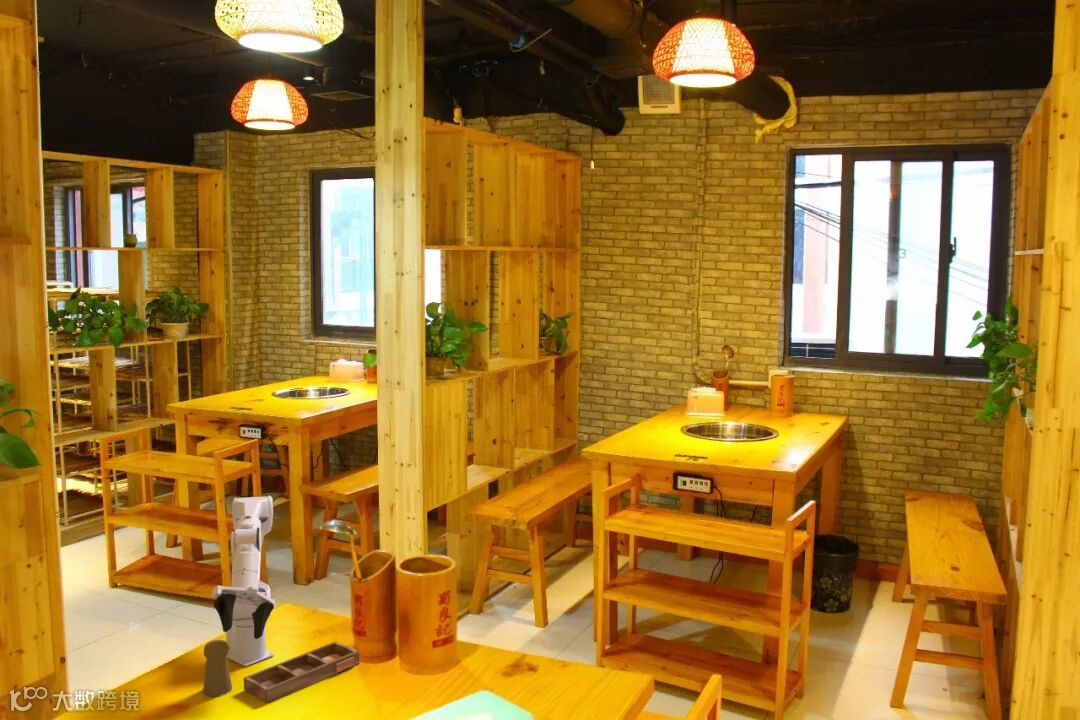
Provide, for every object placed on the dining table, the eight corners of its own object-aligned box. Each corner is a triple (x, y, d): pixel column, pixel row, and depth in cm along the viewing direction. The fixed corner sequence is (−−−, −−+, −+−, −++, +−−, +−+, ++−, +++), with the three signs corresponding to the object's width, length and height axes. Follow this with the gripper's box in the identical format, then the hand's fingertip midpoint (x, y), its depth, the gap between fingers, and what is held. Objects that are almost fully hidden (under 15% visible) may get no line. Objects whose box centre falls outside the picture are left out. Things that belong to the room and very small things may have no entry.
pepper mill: (222, 698, 194) (221, 649, 193) (197, 695, 196) (195, 646, 194) (237, 685, 200) (236, 637, 199) (212, 682, 202) (211, 635, 200)
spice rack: (244, 690, 198) (243, 677, 198) (335, 653, 217) (335, 641, 217) (269, 704, 192) (268, 691, 192) (361, 664, 211) (360, 652, 211)
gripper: (226, 560, 197) (223, 618, 188) (283, 576, 206) (282, 632, 197) (208, 575, 200) (204, 632, 191) (264, 589, 209) (263, 645, 200)
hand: (243, 633), depth 194 cm, fingers open, 7 cm apart
